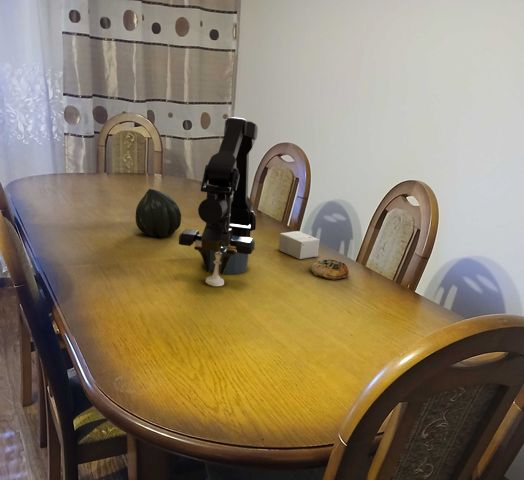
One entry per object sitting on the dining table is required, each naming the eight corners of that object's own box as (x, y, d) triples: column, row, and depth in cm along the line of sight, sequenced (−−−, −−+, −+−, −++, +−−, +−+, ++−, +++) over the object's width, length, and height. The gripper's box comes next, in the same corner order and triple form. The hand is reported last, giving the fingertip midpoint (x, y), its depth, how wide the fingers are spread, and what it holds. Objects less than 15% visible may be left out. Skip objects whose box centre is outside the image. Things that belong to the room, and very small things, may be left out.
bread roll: (351, 270, 168) (353, 255, 165) (343, 287, 159) (345, 271, 157) (315, 265, 171) (316, 249, 168) (305, 280, 162) (306, 264, 160)
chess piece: (204, 284, 147) (209, 247, 142) (206, 277, 151) (211, 241, 146) (223, 287, 147) (228, 251, 142) (224, 280, 151) (229, 244, 147)
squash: (197, 220, 183) (173, 179, 181) (166, 230, 171) (141, 186, 170) (172, 240, 192) (149, 201, 191) (141, 251, 180) (117, 210, 179)
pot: (209, 257, 167) (210, 234, 164) (249, 263, 166) (252, 240, 163) (199, 270, 156) (200, 246, 153) (242, 276, 155) (244, 252, 152)
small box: (277, 249, 181) (299, 259, 174) (279, 232, 178) (301, 242, 171) (296, 247, 185) (317, 256, 178) (298, 230, 183) (320, 239, 176)
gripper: (173, 216, 134) (171, 278, 141) (250, 226, 133) (244, 289, 140) (185, 206, 144) (183, 264, 151) (257, 216, 143) (252, 274, 150)
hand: (215, 273), depth 148 cm, fingers open, 3 cm apart
